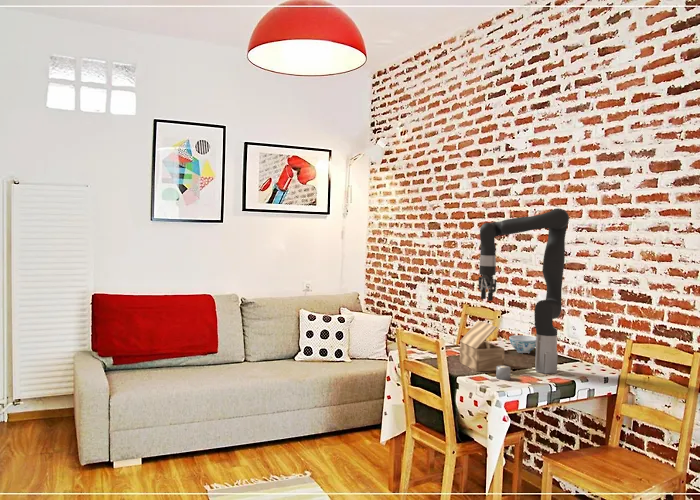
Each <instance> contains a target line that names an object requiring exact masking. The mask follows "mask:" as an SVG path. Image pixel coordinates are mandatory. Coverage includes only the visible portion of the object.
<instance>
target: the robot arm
mask: <svg viewBox="0 0 700 500" xmlns="http://www.w3.org/2000/svg"><path fill="white" fill-rule="evenodd" d="M569 222H570V216H569V213H568V212H567V211H566V210H565V209H563V208H554V209H552V210H550V211H548V212H544V213H541V214H537V215H531V216H522V217H513V218H509V219H504V220H501V221H495V222H493V221H492V222H485V223H482V224H481V226H480V229H479V239H480V251H479V252H480V256H479V257H480V258H479V269H478V270H479V273H478V274H479V275H480V276H478V279H477V280H478V290H479V291H480V299H482V300H486V299H487V301H488V302H489V301H490V302H492V301H493V299H494V293H496V291H497V279H494V277H493V276H495V275H496V272H497V271H496V269H497V257H496V253H497V252H496V251H497V249H496V248H497V246H496V244H495V239H496V237H499V236H505V235H506V236H507V235H514V234H520V233H524V232H529V231H534V230H540V229H548V235H547V242H546V245H545V249H544V255H543V260H542V262H543V263H542V275H543V278H544V281H545V285H546V295H545V299H543V300H539V301H537V302H536V304H535V307H534V328H535V331H536V333H535V337H536V347H535V365H534V370H535V372H537V373H541V374H545V375H546V374H557V373H558V353H559V352H558V350H557V349H558V348H557V347H558V329H557V327H555V326H554V324H553V320H555V319H557V318H559V317H560V315H561V313H562V303H563V302H562V289H563V288H562V287H563V275H564V269H565V261H566V259H565V258H566V255H565V254H566V250H565V249H566V244H565V243H566V240H565V239H566V233H567V228H568V224H569ZM486 297H487V298H486Z"/></svg>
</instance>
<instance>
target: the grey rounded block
mask: <svg viewBox="0 0 700 500" xmlns="http://www.w3.org/2000/svg"><path fill="white" fill-rule="evenodd" d="M511 370H512V369H511V366H508V365H504V366H503V365H500V366H496V370H495V373H496V374H495V379H497V380H501V381H509V380H511Z"/></svg>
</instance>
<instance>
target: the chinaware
mask: <svg viewBox="0 0 700 500" xmlns="http://www.w3.org/2000/svg"><path fill="white" fill-rule="evenodd" d="M509 343H510V345H511V346H512V348H513V349H514V350H516V352H517V353H518V354H523V353H528V354H531V352H532V351H533V350H534V349H536V336H532V335H523V334H522V335H519V334H517V335H516V334H514V335H509Z"/></svg>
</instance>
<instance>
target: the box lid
mask: <svg viewBox="0 0 700 500" xmlns="http://www.w3.org/2000/svg"><path fill="white" fill-rule="evenodd" d="M497 328H498V327H497V326H496V325H492V324H490V323H487V322H485V321H480V320H479V319H478V320H477V321H476V322H475V324H474V325H473V326H472V327H470V329H469V330H468V331H467V332H466V333H465V335H464V336H463V337H461V339H460V340H459V343H460V342H461V343H464V344H466V345H468V346H470V347H472V348H475V349H478V348H479V347H480V346H481V344H482V343H483V342H484V341H485V340H486V341H487V339H488V338H489V337H490V336H491V335H492V334H493V333H494V332H495V330H496V329H497Z"/></svg>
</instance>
